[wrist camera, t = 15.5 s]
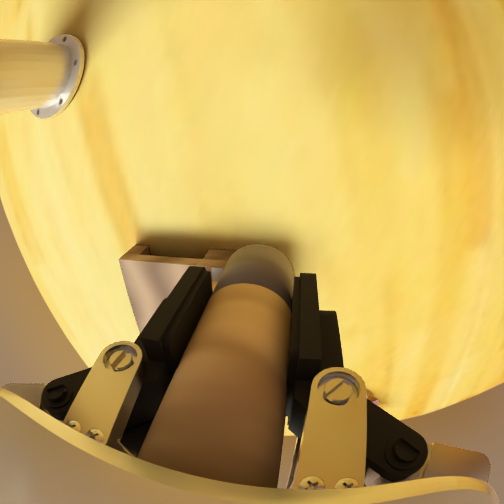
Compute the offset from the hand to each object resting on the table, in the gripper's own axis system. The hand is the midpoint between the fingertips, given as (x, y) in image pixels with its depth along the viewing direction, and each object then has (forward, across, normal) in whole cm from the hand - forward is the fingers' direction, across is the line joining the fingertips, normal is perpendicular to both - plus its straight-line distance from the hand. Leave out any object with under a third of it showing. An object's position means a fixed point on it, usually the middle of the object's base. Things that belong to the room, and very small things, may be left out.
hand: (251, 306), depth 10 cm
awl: (+2, 0, 0) cm, 2 cm away
